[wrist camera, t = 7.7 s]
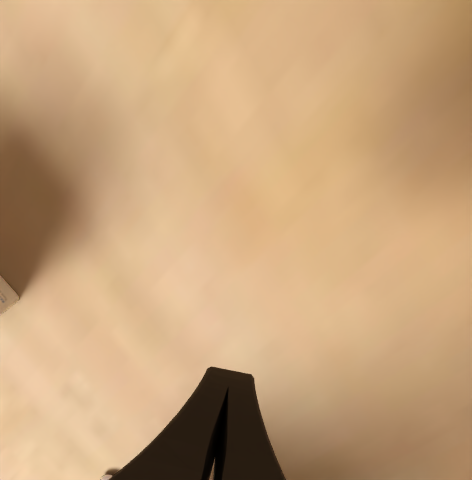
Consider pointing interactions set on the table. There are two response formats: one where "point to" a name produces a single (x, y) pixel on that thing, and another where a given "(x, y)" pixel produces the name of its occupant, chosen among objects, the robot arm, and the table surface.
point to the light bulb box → (6, 296)
